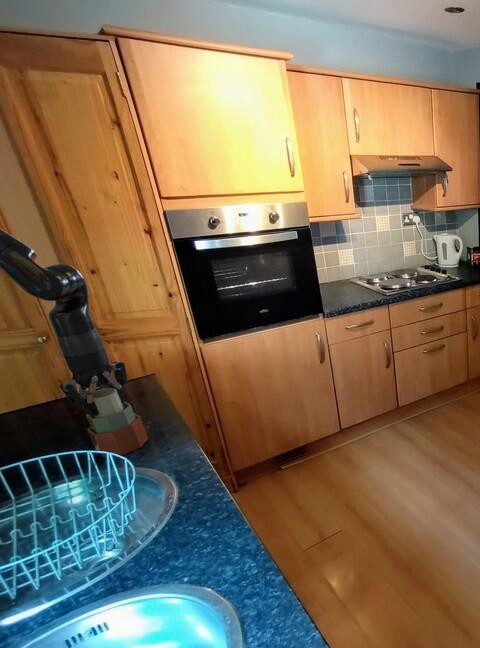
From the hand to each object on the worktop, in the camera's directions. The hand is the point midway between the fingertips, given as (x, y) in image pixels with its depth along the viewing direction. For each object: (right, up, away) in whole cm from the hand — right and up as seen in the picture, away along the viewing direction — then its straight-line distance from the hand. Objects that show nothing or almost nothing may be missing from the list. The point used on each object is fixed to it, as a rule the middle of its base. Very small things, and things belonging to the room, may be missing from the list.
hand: (107, 408), depth 116 cm
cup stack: (0, -11, +5) cm, 12 cm away
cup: (0, -4, +2) cm, 5 cm away
